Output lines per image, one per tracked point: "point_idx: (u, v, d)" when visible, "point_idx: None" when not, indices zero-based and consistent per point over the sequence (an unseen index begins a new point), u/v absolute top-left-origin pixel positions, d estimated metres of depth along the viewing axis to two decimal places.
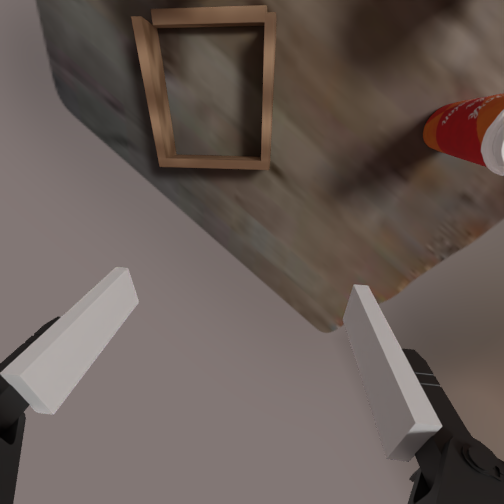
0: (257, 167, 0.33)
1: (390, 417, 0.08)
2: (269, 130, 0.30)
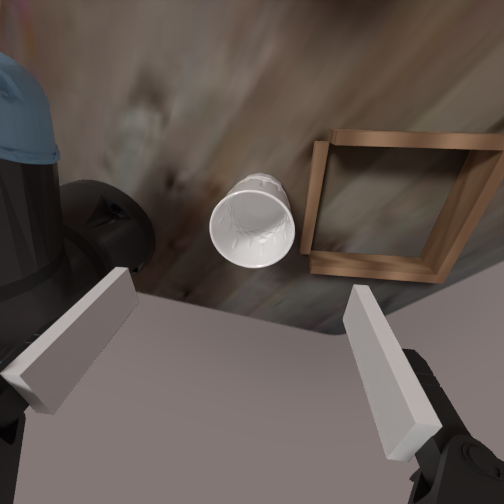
0: None
1: (390, 417, 0.08)
2: (465, 136, 0.20)
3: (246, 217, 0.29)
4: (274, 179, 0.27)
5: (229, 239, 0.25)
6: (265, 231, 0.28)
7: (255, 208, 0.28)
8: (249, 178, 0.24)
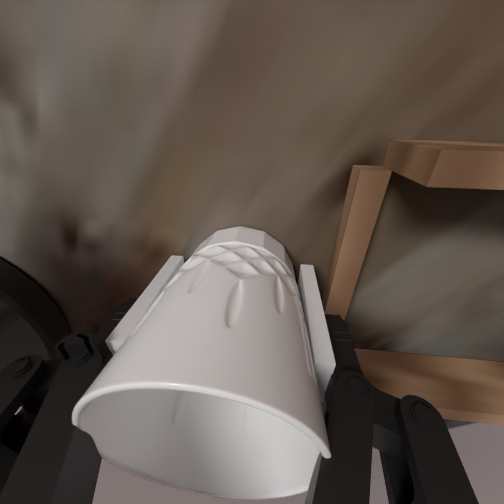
0: None
1: None
2: None
3: None
4: (270, 242, 0.13)
5: (167, 394, 0.11)
6: None
7: None
8: (210, 258, 0.10)
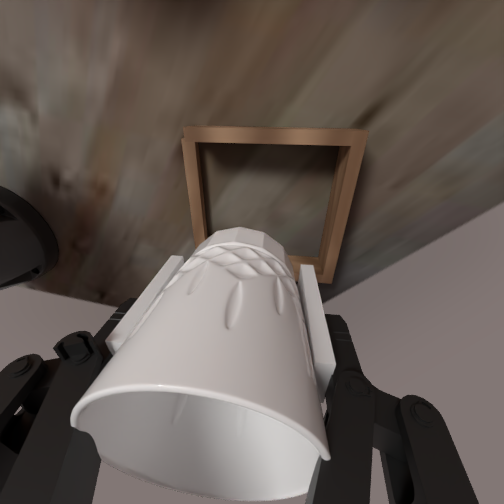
0: (360, 151, 0.20)
1: None
2: (308, 131, 0.20)
3: None
4: (270, 243, 0.13)
5: (166, 396, 0.11)
6: None
7: None
8: (209, 259, 0.10)
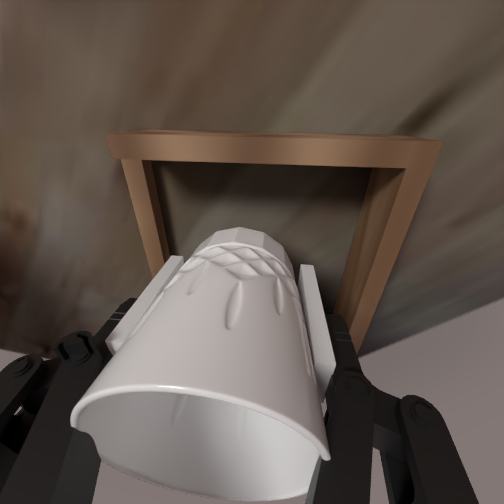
0: (422, 177, 0.11)
1: None
2: (330, 142, 0.11)
3: None
4: (270, 243, 0.13)
5: (166, 396, 0.11)
6: None
7: None
8: (210, 259, 0.10)
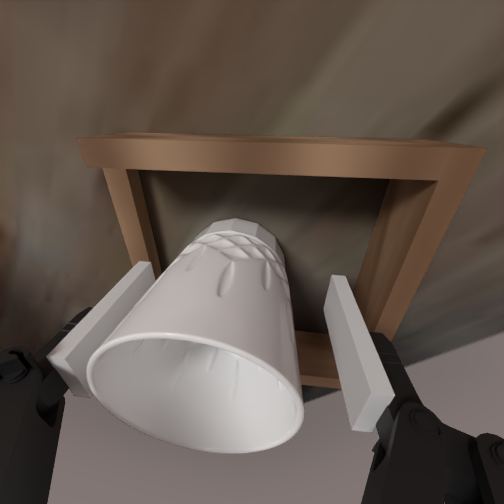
0: (457, 191, 0.09)
1: (354, 392, 0.09)
2: (346, 149, 0.09)
3: None
4: (262, 233, 0.14)
5: (166, 366, 0.12)
6: None
7: None
8: (207, 244, 0.11)
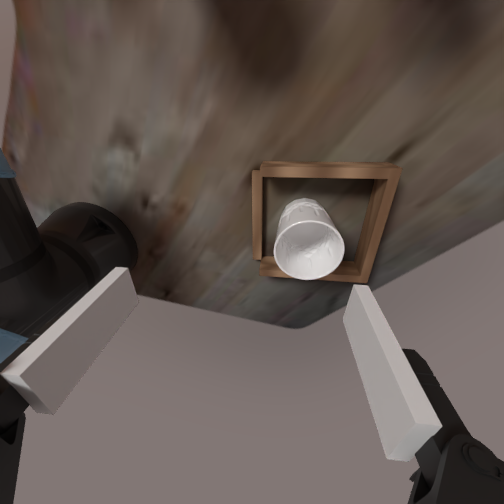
0: (395, 182, 0.26)
1: (390, 417, 0.08)
2: (356, 169, 0.26)
3: (292, 234, 0.34)
4: (318, 204, 0.32)
5: (283, 255, 0.30)
6: (309, 247, 0.33)
7: (300, 227, 0.33)
8: (301, 205, 0.29)
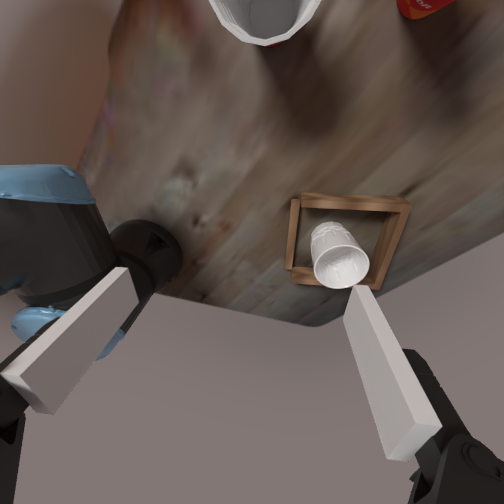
0: (406, 214, 0.35)
1: (390, 417, 0.08)
2: (377, 204, 0.34)
3: None
4: (343, 226, 0.40)
5: (317, 268, 0.37)
6: (334, 261, 0.41)
7: None
8: (332, 229, 0.37)
